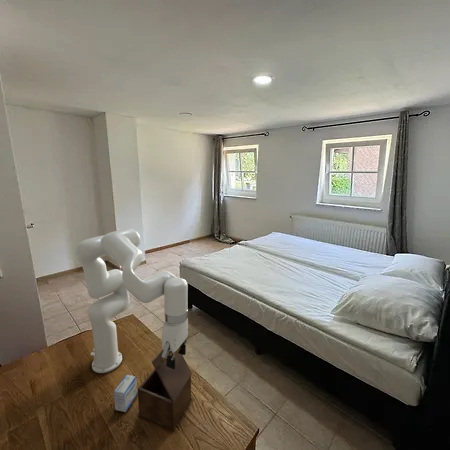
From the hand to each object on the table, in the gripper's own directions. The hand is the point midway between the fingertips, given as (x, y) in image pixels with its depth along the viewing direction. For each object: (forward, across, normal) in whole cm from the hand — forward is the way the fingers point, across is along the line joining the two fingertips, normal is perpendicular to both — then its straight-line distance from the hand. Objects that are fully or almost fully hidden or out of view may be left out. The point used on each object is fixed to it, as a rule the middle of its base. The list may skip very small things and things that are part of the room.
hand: (176, 359), depth 86 cm
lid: (+4, 0, -2) cm, 5 cm away
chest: (+23, 0, -5) cm, 23 cm away
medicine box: (+23, +4, -20) cm, 31 cm away
